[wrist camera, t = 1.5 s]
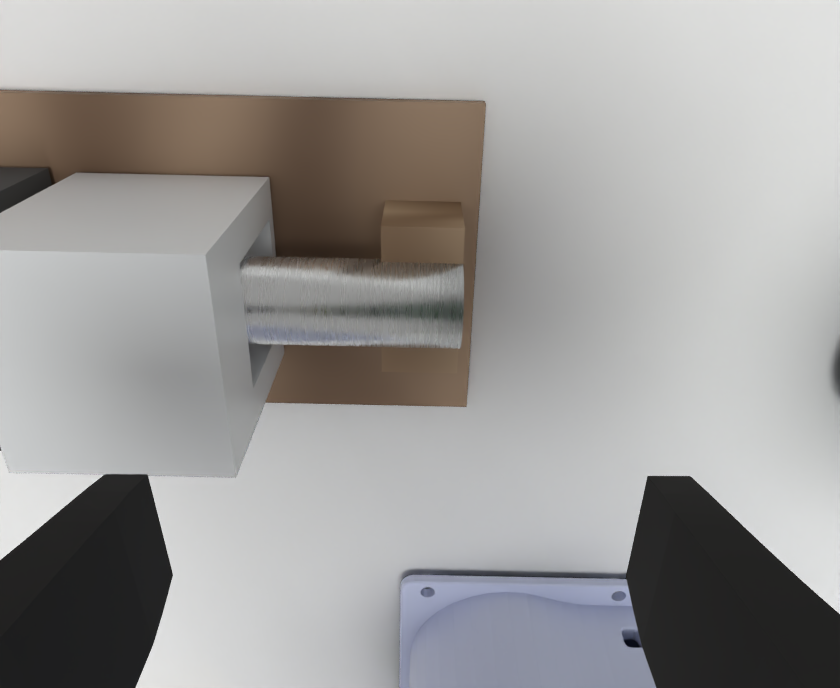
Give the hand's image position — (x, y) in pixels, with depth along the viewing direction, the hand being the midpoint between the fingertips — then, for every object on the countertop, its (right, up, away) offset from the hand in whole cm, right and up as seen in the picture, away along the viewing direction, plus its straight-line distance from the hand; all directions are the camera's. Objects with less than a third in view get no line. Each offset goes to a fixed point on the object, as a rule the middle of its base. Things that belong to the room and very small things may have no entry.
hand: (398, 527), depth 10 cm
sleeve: (-6, +5, +9) cm, 12 cm away
